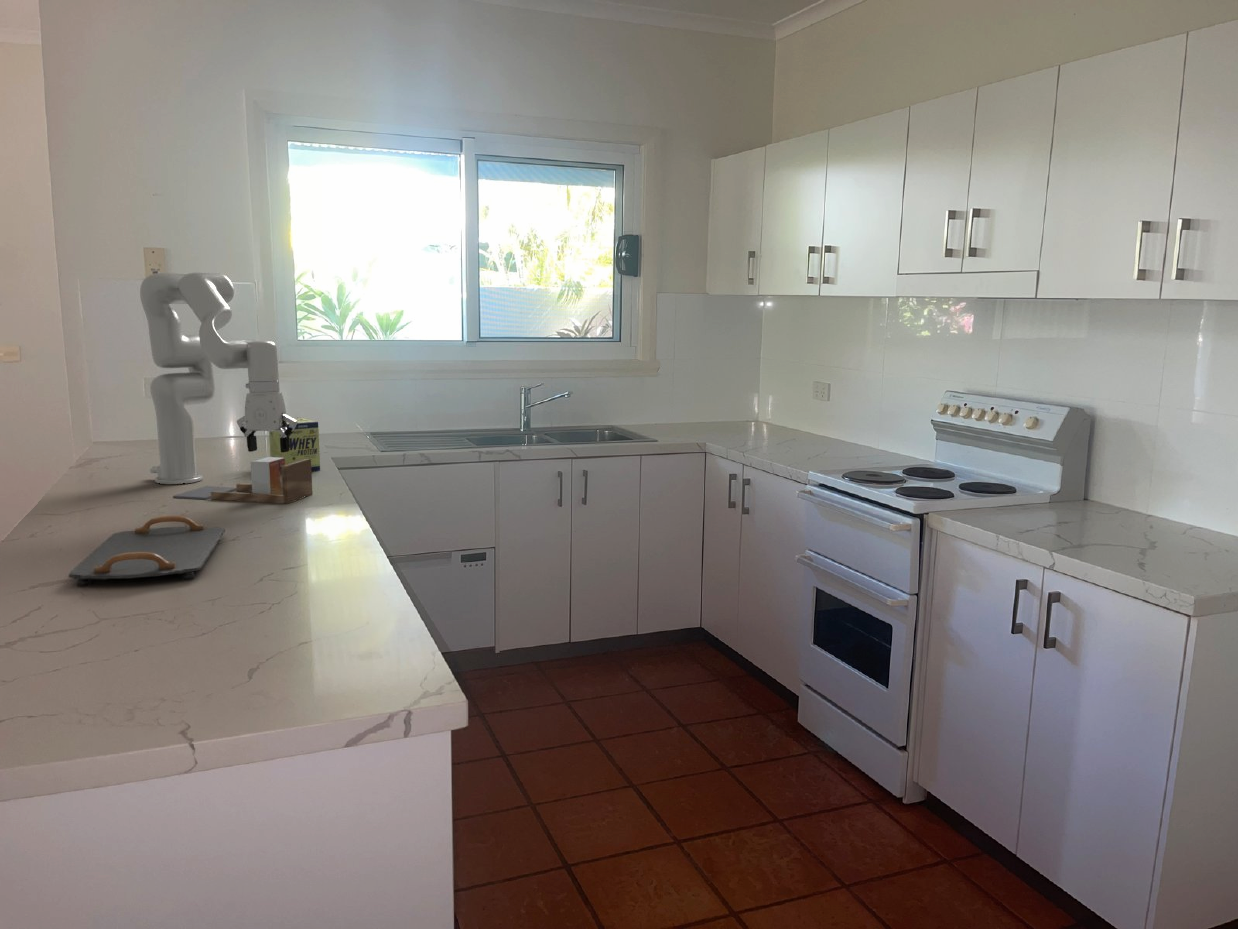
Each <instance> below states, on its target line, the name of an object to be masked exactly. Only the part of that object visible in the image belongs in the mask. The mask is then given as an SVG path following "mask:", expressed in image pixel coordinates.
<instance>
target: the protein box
mask: <svg viewBox="0 0 1238 929" xmlns="http://www.w3.org/2000/svg"><path fill="white" fill-rule="evenodd" d="M292 418H293V419H295V420H296V421H297V425H296V427H295V430H294V432H293V433H292V434H291V436H289V441H290V448H289V451H288V452H284V453H282V452H281V449H280V438H282V436H281V435H280V434H279V433H278V431H277V430H276V431H268V439H269V457H278V458H285V465H287V464H291V463H294V462H297V461H301V460H304V459H311V472H318V470H319V471H321V455H320V434H319V422H318V421H315V420H310V419H307V418H304V417H303V418H302V417H292ZM286 428H287V429H288V428H289V423H288V422H287V427H286Z"/></svg>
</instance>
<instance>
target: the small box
mask: <svg viewBox="0 0 1238 929" xmlns="http://www.w3.org/2000/svg"><path fill="white" fill-rule="evenodd" d="M284 465H285V458H278V457H270V456H267V457H263V458H259V459H256V460H251V461H250V474H251V475H250V476H251V478H250V479H251V484H252V492H251V493H257V494H274V495H283V482H282V466H284Z"/></svg>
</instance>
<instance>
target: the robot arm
mask: <svg viewBox="0 0 1238 929" xmlns="http://www.w3.org/2000/svg"><path fill="white" fill-rule="evenodd" d="M140 284H141V285H140V288H139V289H140V290H139V296H140V297H139V298H140V301H141V306H142V308H143V311H144V313H145V316H146V320H147V324H148V335H149V342H150V350H151V351H150V352H151V356H152V359H153V363H154V364H155V366H157V367H159V368H160V369H188V371H187V372H169V373H163V374H160V375H157V376H155V377H154V378H153V379H152V381H151V383H150V386H149V387H150V388H149V389H150V396H151V399H152V402H153V406H154V411H155V417H156V418H155V419H156V428H157V429H156V430H157V443H158V454H159V456H158V457H159V465H153V466H152V467H151V468H150V471H149V472H150V473H151V474H157V477H155V480H154V481H155V483H157V484H159V483H160V485H181V484H183V483H185V484H190V483H191V484H192V483H195V482H200V481H202V480H203V479H204V478H203V475H202V474H200V473H197V462H196V461H197V459H196V447H195V432H194V431H195V430H194V420H193V418H192V416H191V414H190V413H189V411H188V410H187V409H186V407H185V406H191V405H200V404H201V405H202V404H207V403H209V402H210V401H211V400H212V399H213V398H214V396H215V391H216V388H215V378H214V369H213V365H215V367H217V368H219V369H223V370H234V369H237V370H238V369H247V374H248V375H247V377H248V382H247V383H245V388H246V389H248V391H249V392H248V393H246V395H245V403H244V404H245V405H244V416H242V417H240V418H239V419H237V420H236V424H237V425H238V427H239V430H240V431H241V432H242V433H243V436H244V438H246V447H247V451H248V452H249V453H250V452H251V453H252V452H255V451H257V450H258V444H257V443H258V442H257V436H256V433H257V431H258V432H259V431H260V432H269V431H276V430H277V431H278V433H279V434H280V435H281V436H282V438H280V449H281V452H282V453H284V452H288V451H289V448H290V441H289V436H291V434H292V433H293V432H294V430H295V427H296V425H297V421H296V420H295V419H293V418H294V417H291V416H289V415H288V414H287V410H286V408H287V407H286V405H285V400H284V396H283V394H282V392H281V391H280V377H279V362H278V347H277V344H276V343H275V342H274V341H271V340H270V341H269V340H268V341H267V340H254V339H246V340H245V339H244V340H243V339H237V340H232V339H231V340H229V339H228V340H224V339H222V337H221V336H220V335H219V334H218V332H217V331H218V330H221V329H223V327H225V326H226V325H228V323H230V321H231V319H232V317H233V312H232V311H233V310H232V309H231V307H230V306H229V305H228V303H230V302H231V301H233V298H234V295H235V288H234V285H233V283H232V281H231V280H230V279H229V277H227V276H226V275H225V274H221V273H215V272H210V273H209V272H190V273H176V272H175V273H173V272H171V273H170V272H169V273H168V272H162V273H154V274H153V273H152V274H149V275H147V276H146V277H145V278H144V279H143V280H142V282H141V283H140ZM171 304H173V305H177V304H178V305H188V307H189V308H190V309H191V311H192V312H193V313H194V315H195V316H196V318H197V319H198V320H199V321H200V323H201V324H200V327H199V330H198V332H199V334H198V335H197V334H196V335H195V334H183V330H182V322H181V318H180V316H179V314H177V312H176V310H174V308H173V307H172V306H171ZM287 422H288V423H289V428H288V429H287V428H286V427H287ZM183 485H184V484H183Z"/></svg>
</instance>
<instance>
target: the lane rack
mask: <svg viewBox="0 0 1238 929" xmlns="http://www.w3.org/2000/svg"><path fill="white" fill-rule="evenodd" d="M312 472H313V471H311V459H304V460H301V461H297V462H294V463H291V464H287V465H284V466H282V482H283V495H274V494H257V493H252V483H242V482H241V483H236V484H235V485H236V487H235V488H237V490H236V491H232V492H222V491H212V492H211V498H210V499H211V500H221V501H222V500H223V501H233V500H242V501H241V502H250V501H257V502H256V503H267V502H270V503H272V504H284V503H288V504H291V503H293V502H292V501H294V500H296V501H298V499H299V500H301V499H300V498H302V497H304V496H307V497H309V495H310V496H312V495H311V494H313V477H312V476H313V474H312ZM243 491H246V492H243ZM302 499H303V498H302ZM290 502H291V503H290ZM294 502H295V501H294ZM270 503H269V504H270Z"/></svg>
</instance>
